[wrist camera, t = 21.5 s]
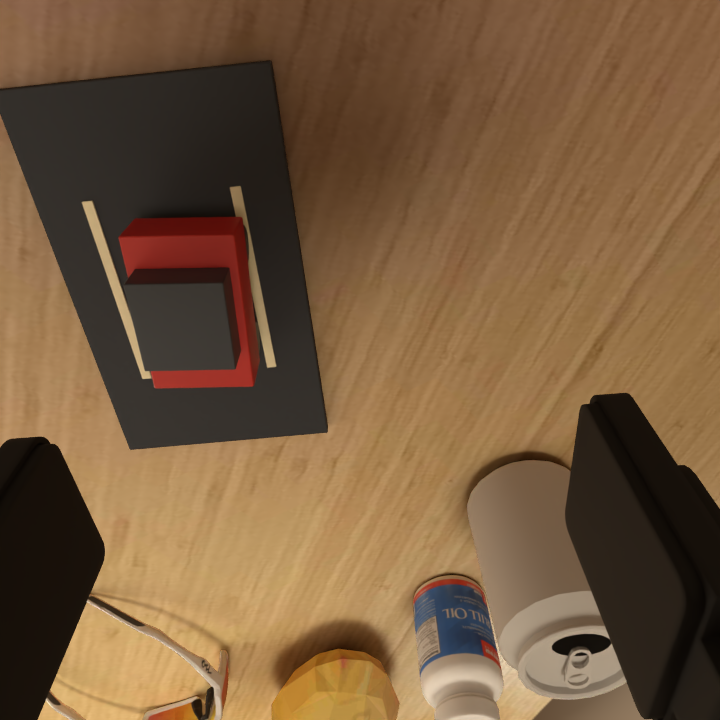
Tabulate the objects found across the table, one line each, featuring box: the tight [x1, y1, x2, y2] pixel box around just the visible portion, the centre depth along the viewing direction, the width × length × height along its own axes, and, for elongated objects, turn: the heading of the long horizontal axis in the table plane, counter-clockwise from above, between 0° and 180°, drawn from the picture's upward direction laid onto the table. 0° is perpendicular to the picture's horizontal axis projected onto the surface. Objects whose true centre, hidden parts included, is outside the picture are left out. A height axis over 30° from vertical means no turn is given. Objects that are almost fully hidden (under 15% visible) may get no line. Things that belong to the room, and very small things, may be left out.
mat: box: [0, 60, 328, 450], centre depth 31 cm, size 20×12×1 cm, turn 5°
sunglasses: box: [46, 594, 229, 720], centre depth 47 cm, size 14×15×5 cm
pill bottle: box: [413, 575, 503, 720], centre depth 41 cm, size 6×5×10 cm
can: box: [467, 460, 627, 700], centre depth 34 cm, size 8×8×12 cm
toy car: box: [119, 217, 260, 388], centre depth 28 cm, size 8×5×5 cm
